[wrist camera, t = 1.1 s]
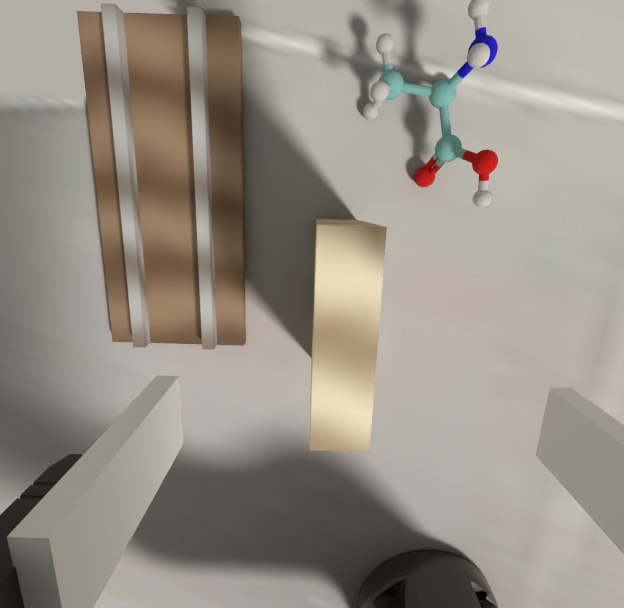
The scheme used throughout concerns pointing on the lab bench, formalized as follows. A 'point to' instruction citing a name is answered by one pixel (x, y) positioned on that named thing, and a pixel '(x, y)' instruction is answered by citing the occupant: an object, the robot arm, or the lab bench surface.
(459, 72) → the molecular model
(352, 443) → the door panel
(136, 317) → the track board
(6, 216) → the lab bench surface
